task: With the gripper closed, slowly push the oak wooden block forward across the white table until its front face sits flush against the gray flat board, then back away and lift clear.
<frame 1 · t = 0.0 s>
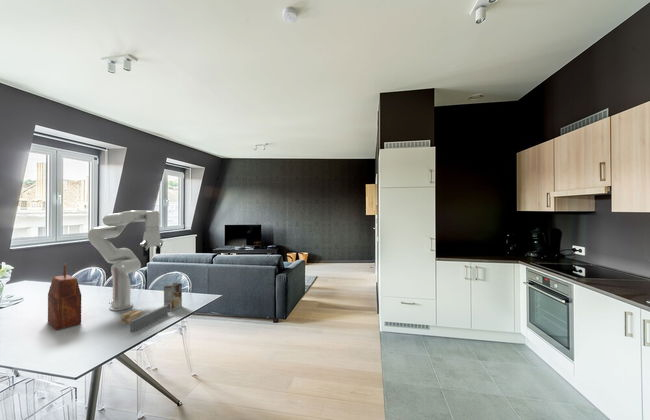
hand: (152, 255, 171), 37 cm above the table, tool pointing down, fingers open, 9 cm apart
coffee box: (172, 308, 175), on the table
oak block: (131, 321, 155), on the table
gray flat board: (150, 322, 153), on the table
wooden peaked block: (64, 323, 151), on the table
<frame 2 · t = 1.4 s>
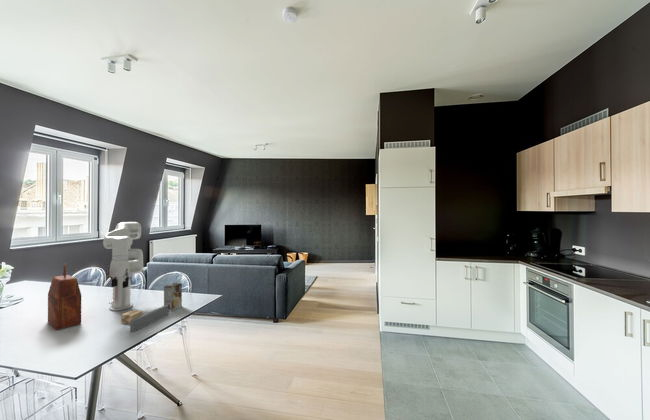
hand: (119, 286, 157), 20 cm above the table, tool pointing down, fingers open, 7 cm apart
nothing on the table moved.
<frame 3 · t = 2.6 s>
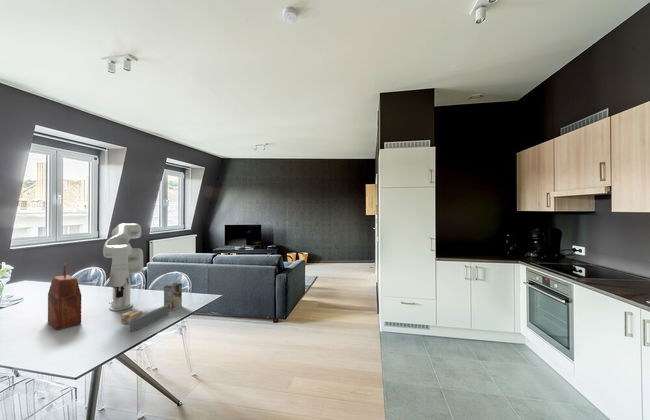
hand: (119, 297, 156), 14 cm above the table, tool pointing down, fingers closed
nothing on the table moved.
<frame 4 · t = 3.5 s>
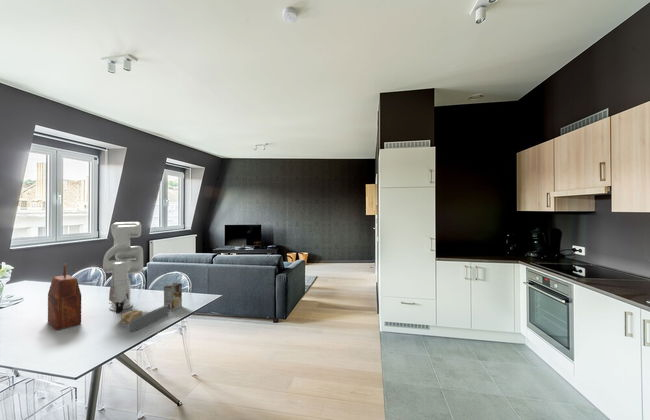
hand: (119, 312, 157), 4 cm above the table, tool pointing down, fingers closed
nothing on the table moved.
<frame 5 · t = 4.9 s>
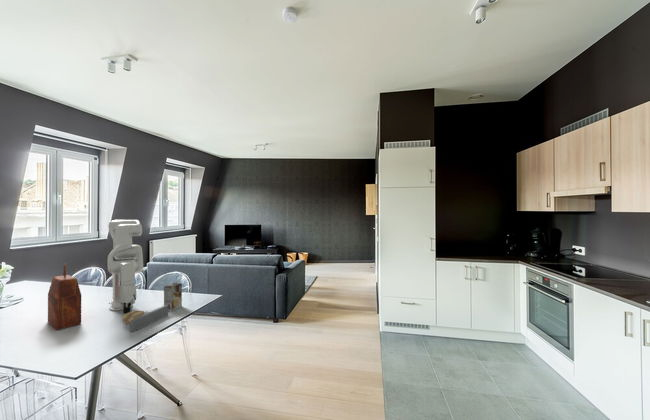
hand: (126, 313, 155), 4 cm above the table, tool pointing down, fingers closed
oak block: (133, 321, 155), on the table, touching gripper
everything else where it was.
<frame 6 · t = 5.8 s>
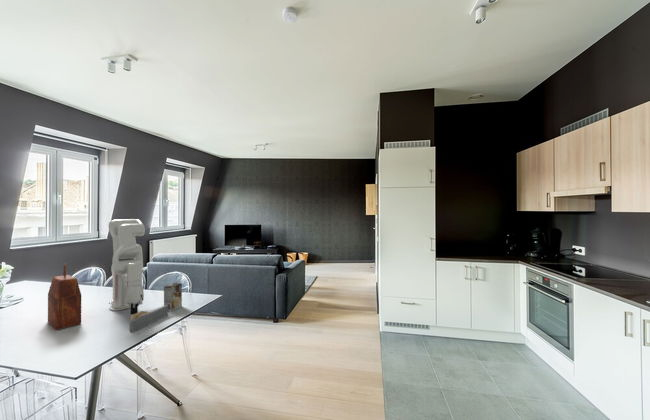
hand: (134, 313, 154), 4 cm above the table, tool pointing down, fingers closed
oak block: (140, 322, 154), on the table, touching gripper
everything else where it was.
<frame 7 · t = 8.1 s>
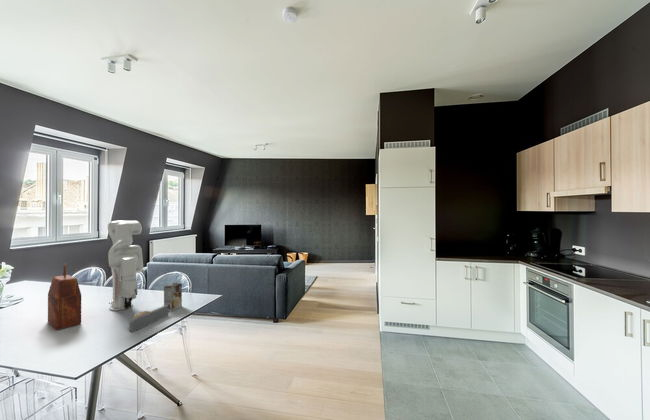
hand: (127, 307, 157), 7 cm above the table, tool pointing down, fingers closed
oak block: (144, 321, 154), on the table, touching gray flat board
everything else where it was.
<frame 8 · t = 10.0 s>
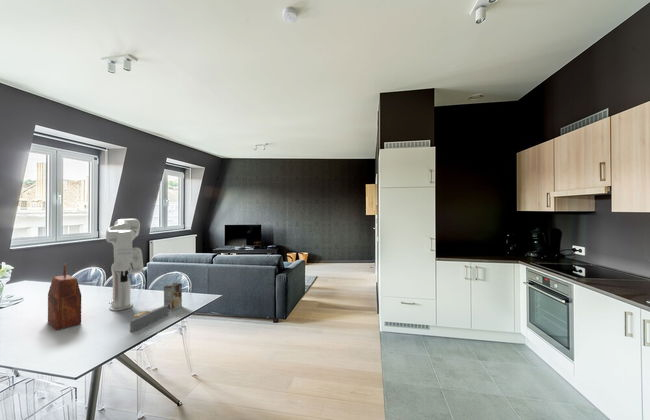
hand: (124, 281, 156), 23 cm above the table, tool pointing down, fingers closed
oak block: (144, 321, 154), on the table
everything else where it was.
at the end: oak block inside the target area on the table beside the gray flat board (0.7 cm from its centre), on the table; oak block tilted 0° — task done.
